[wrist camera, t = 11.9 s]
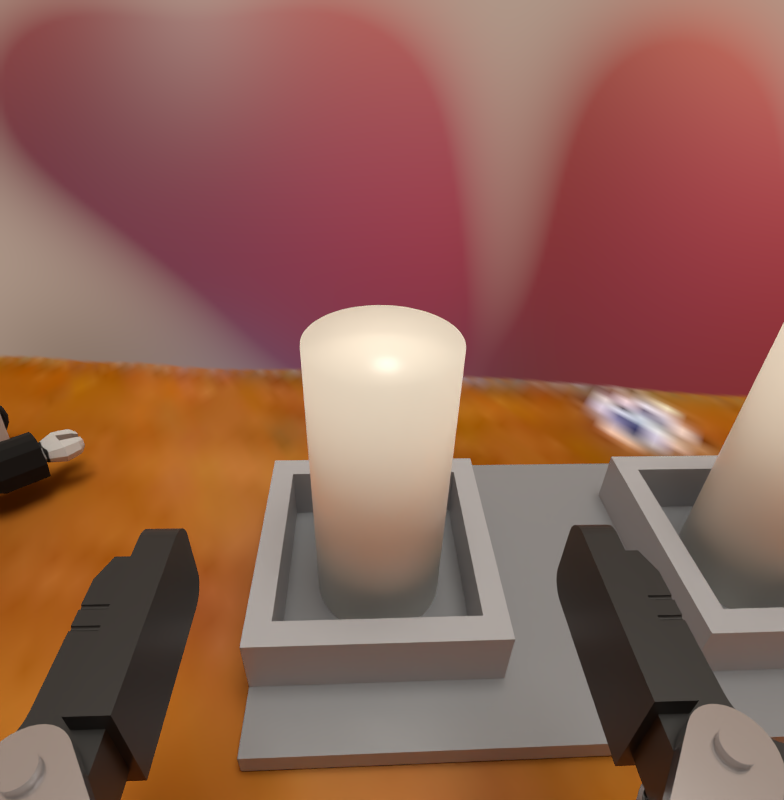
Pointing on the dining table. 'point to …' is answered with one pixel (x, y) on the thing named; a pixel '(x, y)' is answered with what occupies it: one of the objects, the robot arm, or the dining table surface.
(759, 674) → the grey double candle holder
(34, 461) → the robot toy
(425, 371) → the cream white cylinder
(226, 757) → the dining table surface
